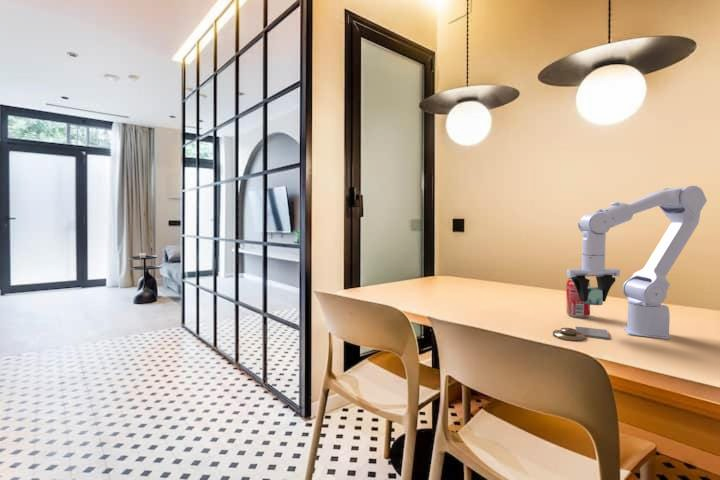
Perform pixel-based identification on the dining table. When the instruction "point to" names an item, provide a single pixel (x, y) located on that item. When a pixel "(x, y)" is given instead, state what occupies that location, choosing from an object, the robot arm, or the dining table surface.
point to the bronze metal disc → (568, 334)
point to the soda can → (575, 302)
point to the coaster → (593, 332)
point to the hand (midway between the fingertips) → (592, 300)
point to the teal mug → (594, 296)
